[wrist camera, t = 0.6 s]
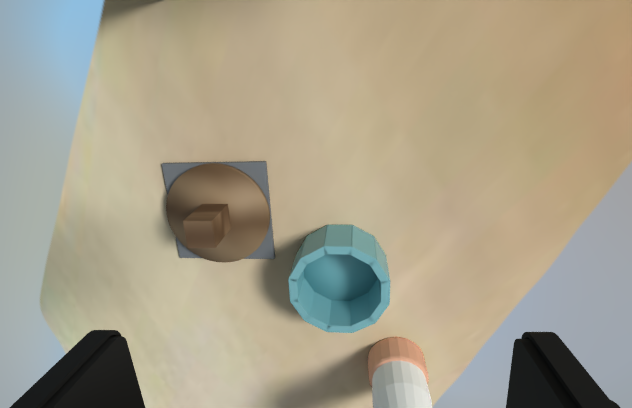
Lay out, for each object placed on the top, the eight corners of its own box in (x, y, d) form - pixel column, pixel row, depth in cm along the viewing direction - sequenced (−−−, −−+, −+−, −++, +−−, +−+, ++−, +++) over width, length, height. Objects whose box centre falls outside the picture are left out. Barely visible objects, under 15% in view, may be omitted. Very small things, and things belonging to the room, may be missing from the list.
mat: (163, 163, 41) (161, 163, 41) (266, 161, 40) (265, 162, 40) (181, 256, 45) (179, 257, 45) (274, 257, 44) (274, 258, 44)
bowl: (294, 224, 42) (285, 246, 37) (386, 224, 41) (391, 247, 36) (299, 301, 46) (292, 330, 41) (384, 303, 45) (388, 334, 40)
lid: (161, 163, 41) (131, 178, 35) (265, 162, 40) (250, 177, 34) (179, 257, 45) (155, 284, 39) (274, 258, 44) (262, 286, 38)
